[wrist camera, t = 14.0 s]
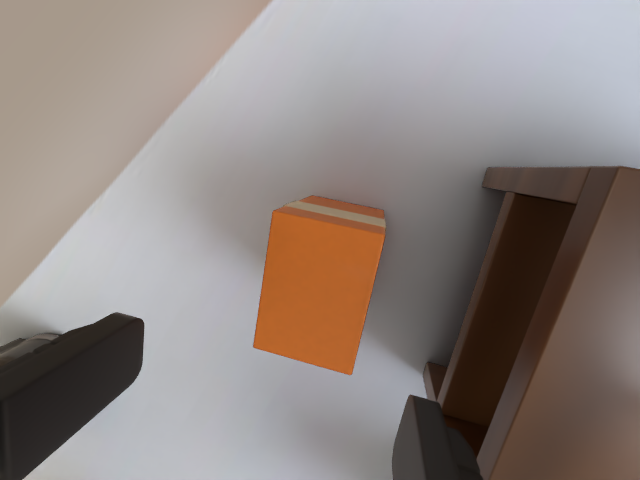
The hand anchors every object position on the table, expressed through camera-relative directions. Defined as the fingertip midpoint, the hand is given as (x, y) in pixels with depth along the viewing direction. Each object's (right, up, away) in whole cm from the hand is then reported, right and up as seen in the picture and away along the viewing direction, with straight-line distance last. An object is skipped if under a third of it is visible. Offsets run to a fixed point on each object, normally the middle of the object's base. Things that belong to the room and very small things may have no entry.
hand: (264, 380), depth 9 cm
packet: (+3, +3, +13) cm, 14 cm away
